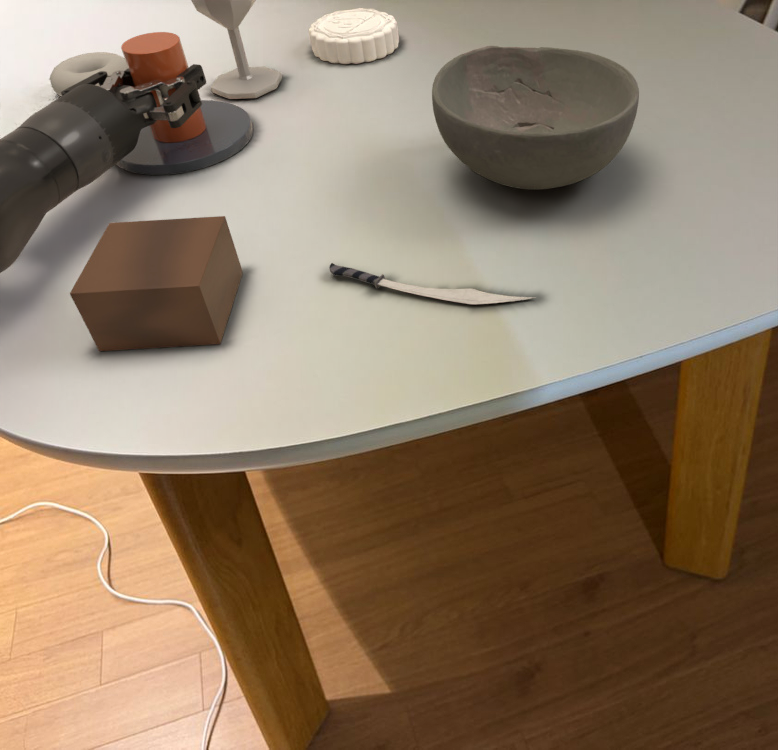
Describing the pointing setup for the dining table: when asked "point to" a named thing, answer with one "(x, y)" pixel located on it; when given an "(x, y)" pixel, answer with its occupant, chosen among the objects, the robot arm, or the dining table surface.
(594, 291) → the dining table surface
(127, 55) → the orange cylinder
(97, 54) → the donut
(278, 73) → the wineglass
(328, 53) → the mooncake
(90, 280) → the stand
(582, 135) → the bowl
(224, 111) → the plate
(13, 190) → the robot arm
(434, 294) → the knife
